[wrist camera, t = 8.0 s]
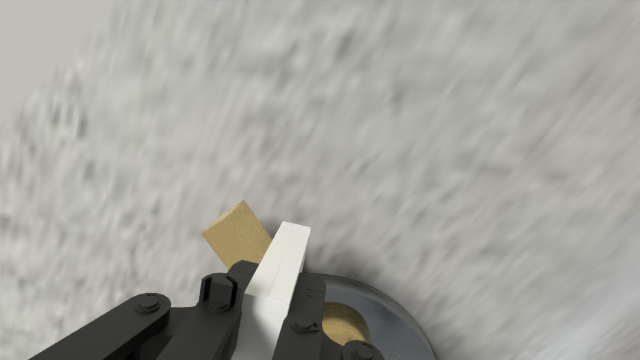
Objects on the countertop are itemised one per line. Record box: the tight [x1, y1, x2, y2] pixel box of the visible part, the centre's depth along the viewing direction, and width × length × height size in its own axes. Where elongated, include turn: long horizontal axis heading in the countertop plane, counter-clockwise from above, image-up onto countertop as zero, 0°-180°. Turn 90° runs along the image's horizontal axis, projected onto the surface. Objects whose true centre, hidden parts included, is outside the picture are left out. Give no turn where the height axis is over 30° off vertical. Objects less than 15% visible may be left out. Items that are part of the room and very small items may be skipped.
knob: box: [201, 200, 371, 346], centre depth 19 cm, size 13×5×4 cm, turn 33°
